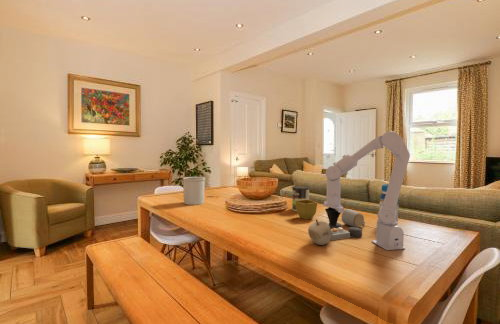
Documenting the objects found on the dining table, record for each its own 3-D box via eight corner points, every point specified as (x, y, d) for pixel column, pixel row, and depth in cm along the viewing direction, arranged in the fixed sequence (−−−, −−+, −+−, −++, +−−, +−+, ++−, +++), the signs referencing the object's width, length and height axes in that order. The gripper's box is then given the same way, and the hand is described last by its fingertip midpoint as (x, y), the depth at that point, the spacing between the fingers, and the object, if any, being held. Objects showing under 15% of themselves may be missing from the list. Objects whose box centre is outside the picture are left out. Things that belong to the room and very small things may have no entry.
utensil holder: (198, 200, 197) (198, 176, 196) (209, 203, 186) (209, 177, 185) (179, 202, 188) (179, 177, 187) (189, 206, 176) (189, 179, 176)
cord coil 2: (364, 237, 115) (364, 230, 115) (352, 238, 114) (352, 231, 114) (357, 233, 121) (357, 226, 121) (345, 234, 120) (345, 227, 120)
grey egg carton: (349, 238, 115) (350, 229, 115) (330, 241, 112) (330, 232, 111) (338, 233, 122) (338, 225, 122) (320, 236, 118) (320, 227, 118)
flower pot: (317, 219, 145) (317, 202, 144) (303, 220, 141) (303, 203, 141) (308, 215, 153) (308, 199, 152) (294, 216, 149) (294, 200, 149)
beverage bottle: (400, 228, 127) (402, 186, 126) (381, 227, 129) (382, 186, 128) (395, 223, 135) (396, 184, 134) (376, 223, 137) (377, 183, 136)
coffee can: (298, 212, 160) (298, 188, 159) (288, 208, 169) (289, 186, 168) (312, 210, 164) (313, 187, 163) (302, 207, 173) (302, 185, 172)
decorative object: (335, 244, 107) (335, 219, 106) (323, 250, 101) (323, 223, 100) (316, 238, 113) (316, 215, 113) (303, 244, 107) (303, 219, 107)
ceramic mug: (354, 229, 127) (354, 212, 126) (340, 224, 134) (341, 209, 134) (369, 226, 132) (370, 210, 131) (355, 222, 139) (356, 207, 139)
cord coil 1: (343, 232, 123) (343, 225, 123) (331, 232, 122) (332, 226, 122) (337, 228, 128) (337, 222, 128) (326, 229, 127) (326, 222, 127)
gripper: (317, 191, 122) (317, 221, 123) (332, 197, 108) (332, 231, 108) (332, 191, 123) (331, 220, 124) (349, 196, 109) (348, 230, 110)
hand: (333, 225), depth 116 cm, fingers closed
